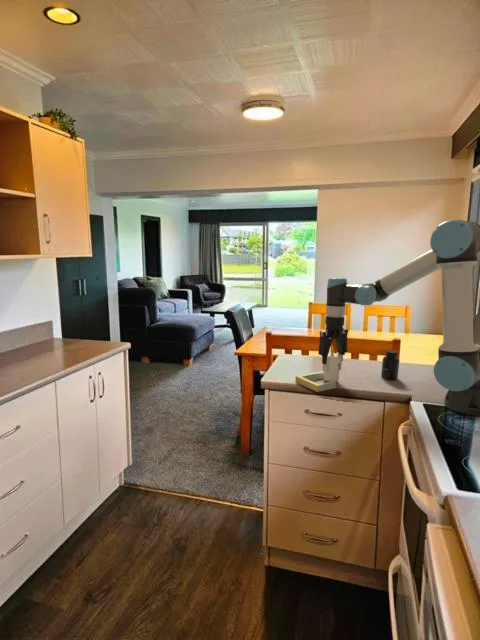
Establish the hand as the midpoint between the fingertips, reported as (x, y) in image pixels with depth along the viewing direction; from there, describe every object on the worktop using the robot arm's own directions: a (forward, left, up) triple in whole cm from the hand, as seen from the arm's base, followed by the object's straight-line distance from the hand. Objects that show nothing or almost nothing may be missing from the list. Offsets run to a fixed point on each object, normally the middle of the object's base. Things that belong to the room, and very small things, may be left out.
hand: (331, 370), depth 169 cm
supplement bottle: (-8, -26, -5) cm, 28 cm away
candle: (0, 0, -4) cm, 4 cm away
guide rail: (0, +2, -5) cm, 5 cm away
